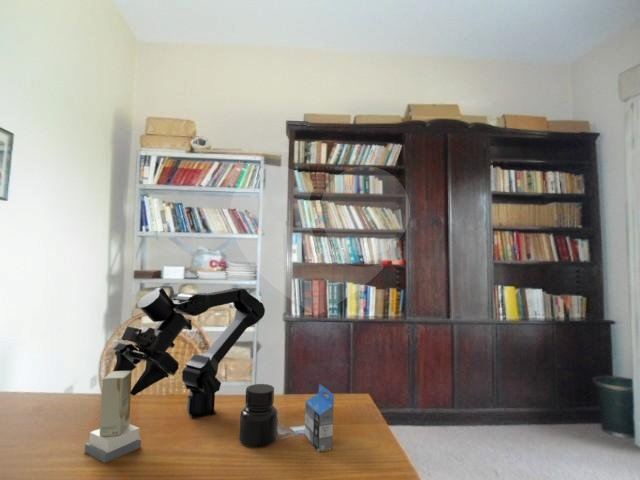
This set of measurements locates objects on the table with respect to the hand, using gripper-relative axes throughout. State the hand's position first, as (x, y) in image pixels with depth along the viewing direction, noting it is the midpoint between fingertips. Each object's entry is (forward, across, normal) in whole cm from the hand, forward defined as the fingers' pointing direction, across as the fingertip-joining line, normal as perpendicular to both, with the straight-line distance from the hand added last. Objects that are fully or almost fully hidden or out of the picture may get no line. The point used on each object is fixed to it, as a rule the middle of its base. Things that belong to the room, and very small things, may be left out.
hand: (119, 390), depth 82 cm
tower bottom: (+10, 0, +9) cm, 13 cm away
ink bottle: (-6, +23, +24) cm, 34 cm away
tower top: (+8, 0, +7) cm, 11 cm away
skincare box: (+7, 0, +6) cm, 9 cm away
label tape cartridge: (-11, +36, +29) cm, 47 cm away
